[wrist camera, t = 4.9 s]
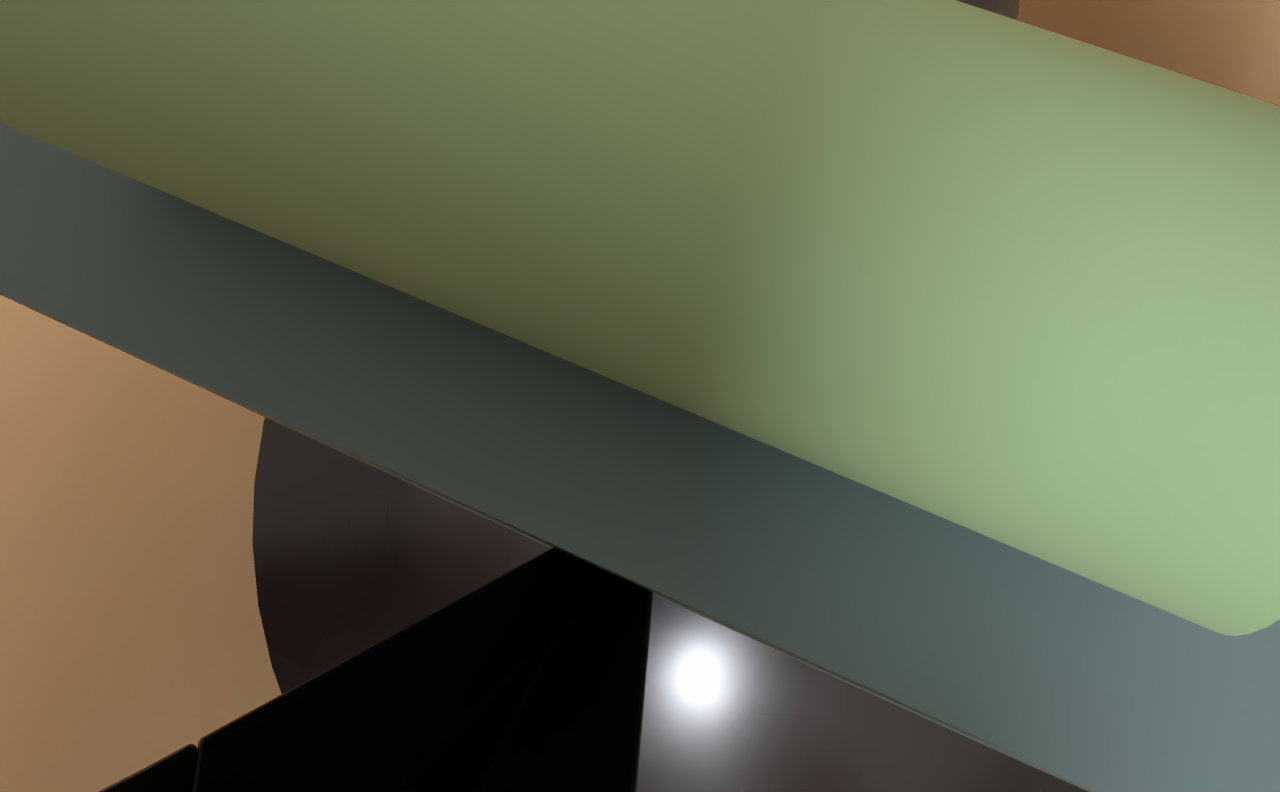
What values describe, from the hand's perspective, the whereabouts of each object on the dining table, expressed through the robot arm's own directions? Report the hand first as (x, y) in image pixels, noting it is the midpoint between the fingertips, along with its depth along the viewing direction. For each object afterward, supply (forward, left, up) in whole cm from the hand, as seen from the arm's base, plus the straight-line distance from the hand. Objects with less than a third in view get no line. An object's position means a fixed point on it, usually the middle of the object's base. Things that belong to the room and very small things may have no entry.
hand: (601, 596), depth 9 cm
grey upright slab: (+2, +1, -6) cm, 7 cm away
